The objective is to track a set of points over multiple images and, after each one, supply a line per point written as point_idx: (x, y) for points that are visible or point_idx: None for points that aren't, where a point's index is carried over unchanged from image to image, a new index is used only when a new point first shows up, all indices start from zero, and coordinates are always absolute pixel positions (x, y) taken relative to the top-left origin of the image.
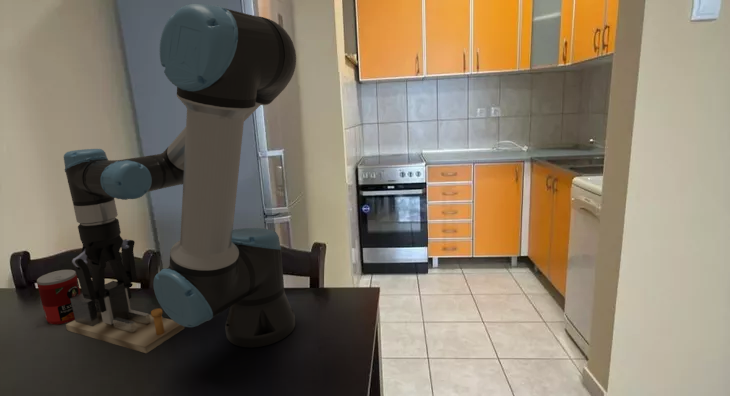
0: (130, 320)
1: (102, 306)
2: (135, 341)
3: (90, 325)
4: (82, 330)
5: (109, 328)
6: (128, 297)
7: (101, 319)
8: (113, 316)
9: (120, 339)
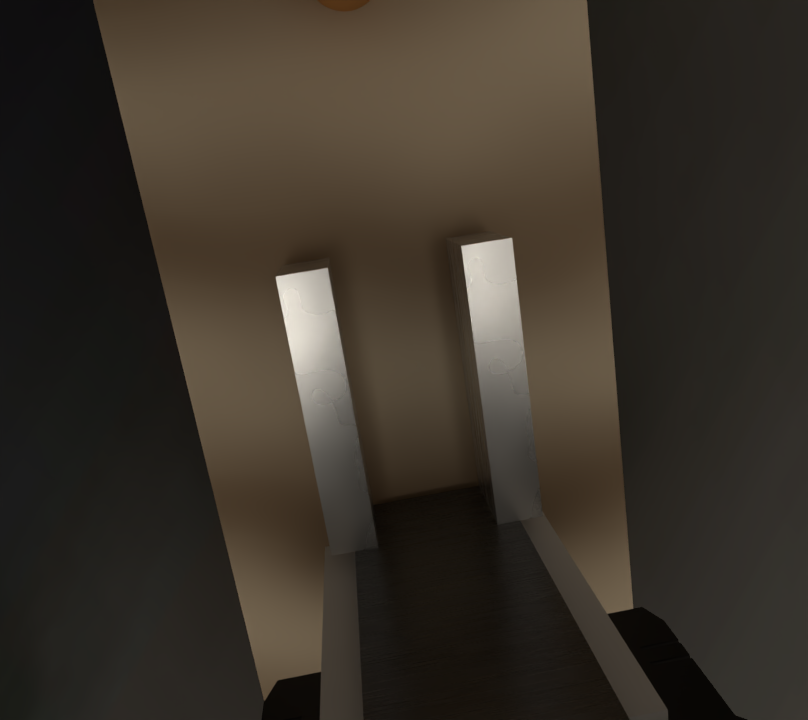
0: None
1: (657, 654)
2: (558, 58)
3: None
4: None
5: None
6: (321, 668)
7: None
8: (527, 538)
9: (598, 234)
